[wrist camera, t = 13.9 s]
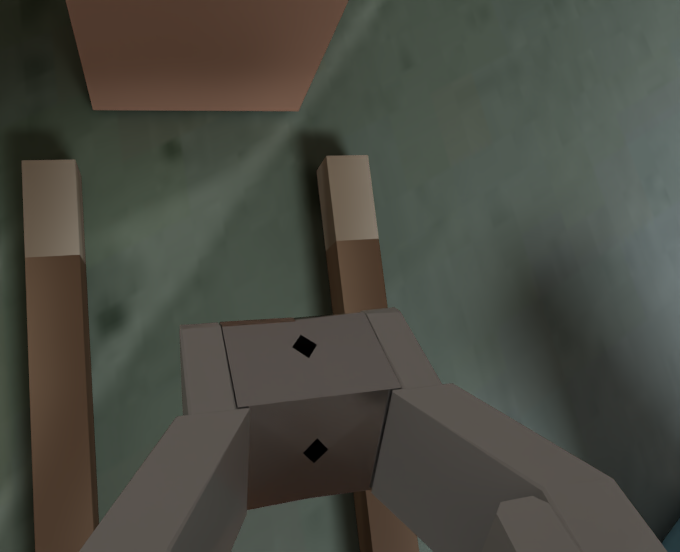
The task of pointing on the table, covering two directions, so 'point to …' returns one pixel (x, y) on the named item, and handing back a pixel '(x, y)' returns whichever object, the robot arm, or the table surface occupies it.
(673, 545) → the data package
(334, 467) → the robot arm
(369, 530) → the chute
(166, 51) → the block
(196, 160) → the table surface
